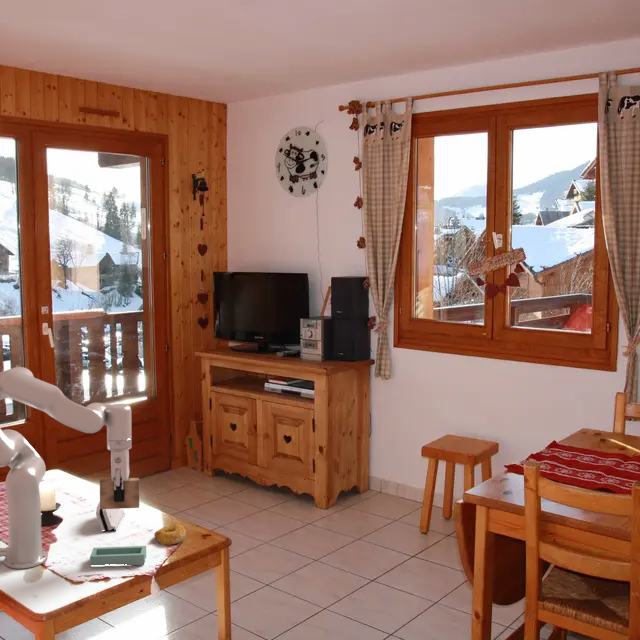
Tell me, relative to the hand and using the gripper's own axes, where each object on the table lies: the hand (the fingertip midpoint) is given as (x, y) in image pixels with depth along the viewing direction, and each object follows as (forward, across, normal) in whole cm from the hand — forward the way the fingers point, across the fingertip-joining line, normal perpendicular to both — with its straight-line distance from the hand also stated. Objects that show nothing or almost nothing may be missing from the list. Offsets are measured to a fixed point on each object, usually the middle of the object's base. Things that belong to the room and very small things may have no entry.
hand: (119, 499), depth 238 cm
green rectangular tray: (+19, -4, 0) cm, 19 cm away
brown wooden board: (+3, 0, 0) cm, 3 cm away
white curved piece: (+19, +29, +6) cm, 36 cm away
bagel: (+19, +12, -16) cm, 28 cm away
